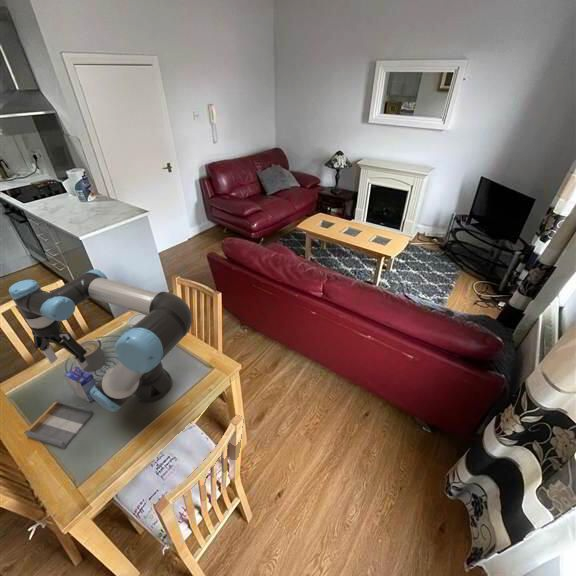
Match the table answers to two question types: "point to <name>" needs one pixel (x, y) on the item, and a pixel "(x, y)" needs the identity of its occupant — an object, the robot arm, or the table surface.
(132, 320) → the disposable coffee cup
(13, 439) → the table surface
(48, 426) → the grey tray
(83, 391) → the ink cartridge box
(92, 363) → the coffee mug
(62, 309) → the robot arm
